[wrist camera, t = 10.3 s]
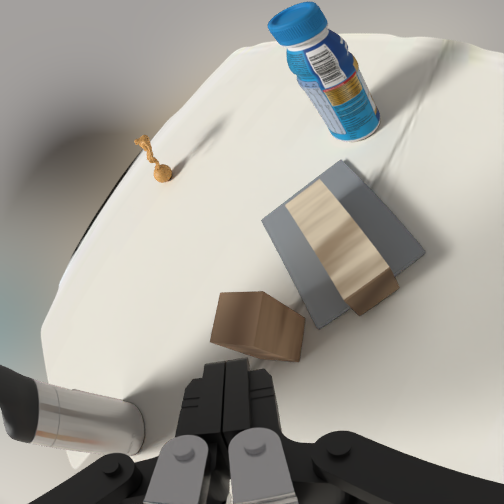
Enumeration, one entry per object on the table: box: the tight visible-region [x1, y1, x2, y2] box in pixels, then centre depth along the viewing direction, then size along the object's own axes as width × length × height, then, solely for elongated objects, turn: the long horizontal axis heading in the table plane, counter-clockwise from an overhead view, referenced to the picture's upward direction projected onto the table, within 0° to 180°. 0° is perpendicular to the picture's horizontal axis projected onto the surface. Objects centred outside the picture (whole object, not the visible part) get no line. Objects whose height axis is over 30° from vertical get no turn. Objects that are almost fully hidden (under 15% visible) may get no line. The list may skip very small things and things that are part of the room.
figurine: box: [134, 135, 172, 183], centre depth 63 cm, size 8×6×12 cm
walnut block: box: [210, 291, 305, 362], centre depth 32 cm, size 5×5×9 cm
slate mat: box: [261, 160, 425, 329], centre depth 37 cm, size 18×14×1 cm
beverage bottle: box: [268, 2, 380, 142], centre depth 36 cm, size 8×8×20 cm
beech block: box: [285, 179, 400, 316], centre depth 33 cm, size 5×5×14 cm
